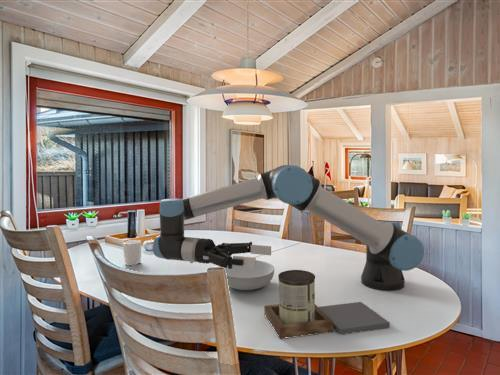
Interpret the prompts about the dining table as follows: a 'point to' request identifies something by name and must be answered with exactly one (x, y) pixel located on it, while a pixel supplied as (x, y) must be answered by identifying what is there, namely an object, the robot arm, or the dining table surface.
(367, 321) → the rubber mat
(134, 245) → the white cup
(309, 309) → the coffee can
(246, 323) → the dining table surface
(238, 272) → the serving bowl
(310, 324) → the walnut collar
